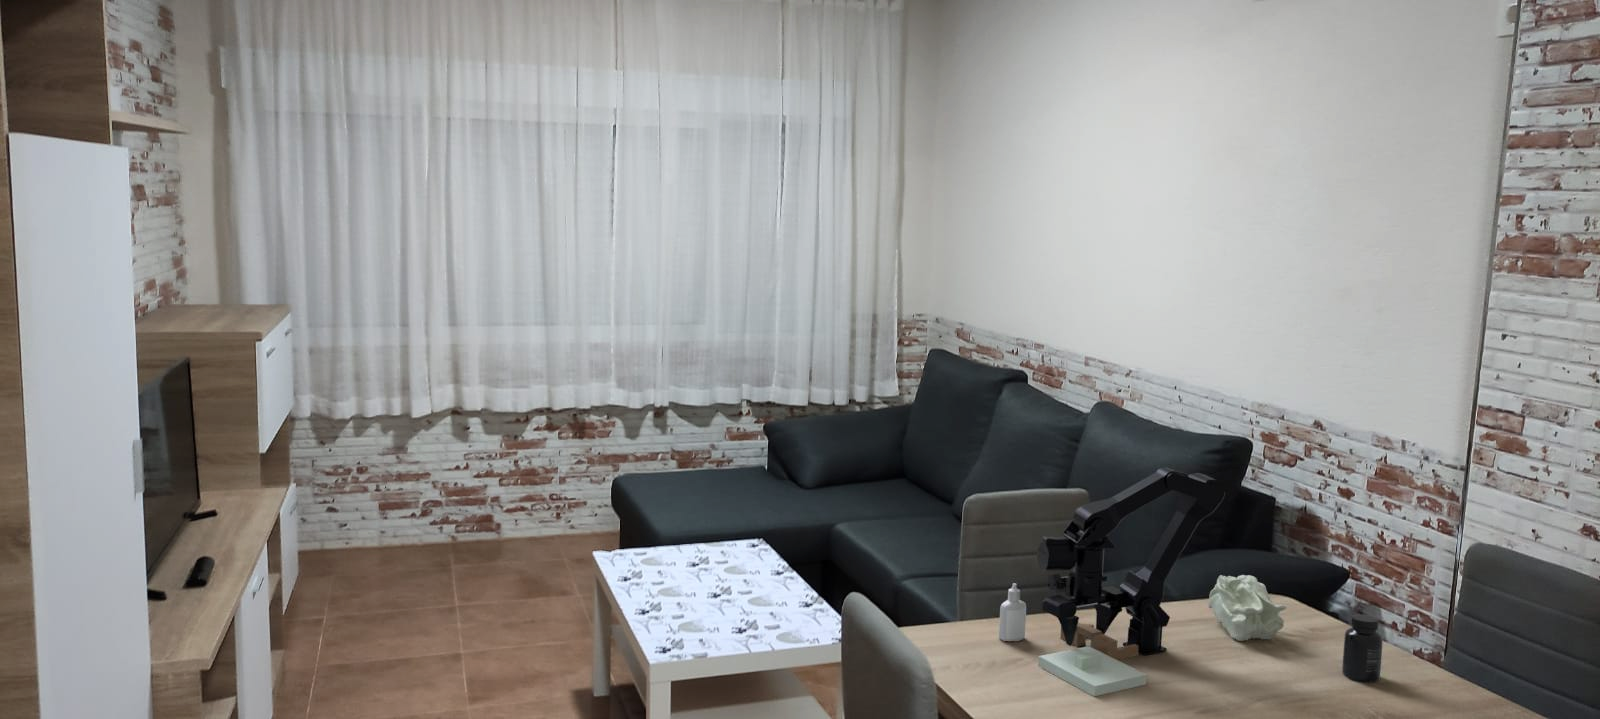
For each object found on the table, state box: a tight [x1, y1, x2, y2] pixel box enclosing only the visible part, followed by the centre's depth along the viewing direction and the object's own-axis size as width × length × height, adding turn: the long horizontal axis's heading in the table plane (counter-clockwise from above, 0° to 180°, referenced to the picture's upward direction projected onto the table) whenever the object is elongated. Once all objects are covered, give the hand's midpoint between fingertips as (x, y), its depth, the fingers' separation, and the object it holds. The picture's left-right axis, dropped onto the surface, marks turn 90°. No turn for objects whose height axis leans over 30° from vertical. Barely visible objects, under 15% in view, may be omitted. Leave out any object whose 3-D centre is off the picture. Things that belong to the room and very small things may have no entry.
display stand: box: [1037, 645, 1147, 697], centre depth 226 cm, size 13×16×4 cm
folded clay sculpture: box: [1208, 574, 1287, 642], centre depth 252 cm, size 18×13×16 cm
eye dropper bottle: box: [998, 582, 1027, 643], centre depth 244 cm, size 4×6×12 cm
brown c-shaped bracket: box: [1059, 622, 1139, 661], centre depth 241 cm, size 8×14×4 cm, turn 29°
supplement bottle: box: [1341, 614, 1384, 683], centre depth 229 cm, size 7×7×12 cm
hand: (1084, 642), depth 238 cm, fingers open, 8 cm apart
